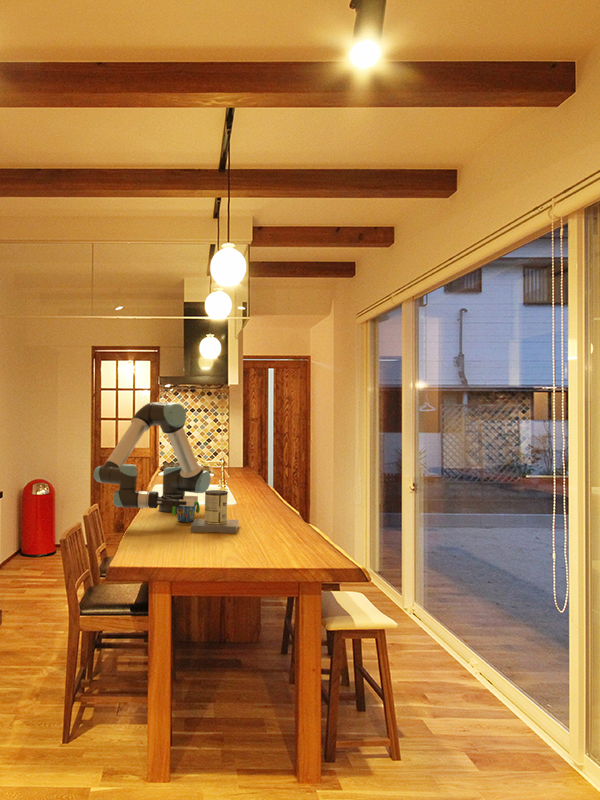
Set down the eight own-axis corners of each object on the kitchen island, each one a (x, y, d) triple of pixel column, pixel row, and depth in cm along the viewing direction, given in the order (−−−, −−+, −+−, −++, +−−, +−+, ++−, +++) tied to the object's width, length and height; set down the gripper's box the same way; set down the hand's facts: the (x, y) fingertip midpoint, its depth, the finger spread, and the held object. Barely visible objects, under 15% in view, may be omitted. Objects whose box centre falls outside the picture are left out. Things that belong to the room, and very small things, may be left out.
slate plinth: (195, 525, 312) (195, 518, 312) (238, 526, 312) (238, 519, 312) (190, 532, 294) (190, 525, 294) (236, 533, 294) (236, 526, 294)
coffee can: (206, 520, 308) (208, 489, 309) (228, 521, 308) (229, 490, 308) (201, 523, 298) (202, 492, 298) (224, 525, 297) (225, 493, 297)
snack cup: (192, 518, 331) (193, 497, 331) (205, 521, 323) (206, 500, 323) (165, 521, 320) (166, 499, 320) (178, 524, 312) (178, 502, 312)
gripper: (153, 504, 314) (198, 505, 315) (143, 512, 289) (192, 513, 290) (154, 488, 314) (199, 489, 315) (143, 495, 290) (192, 496, 290)
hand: (196, 501), depth 303 cm, fingers open, 13 cm apart
